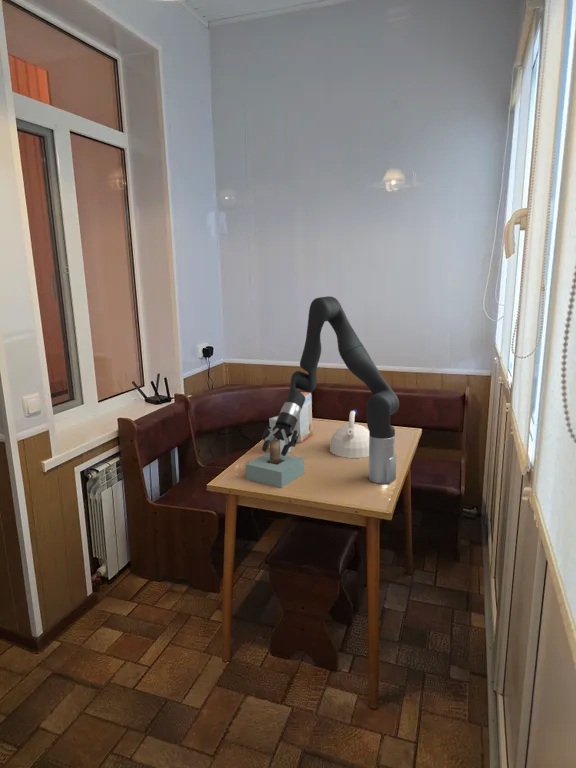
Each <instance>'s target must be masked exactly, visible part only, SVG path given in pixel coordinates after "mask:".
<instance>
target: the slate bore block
mask: <svg viewBox="0 0 576 768" xmlns="http://www.w3.org/2000/svg"><path fill="white" fill-rule="evenodd" d="M280 457H281V463H279V464H278V465H276V464H271V463H270V451H269V452H265V454H263V455H260V456H258V457H257V458H255V459H253V460H251V461H250V462H247V463H246V464H245V474H246V475H245V476H246V478H245V480H248V481H253V482H256V483H259V484H264V485H269V486H271V487H277V488H279V489H282V488H284V487H285V486H287V485H288V484H290V483H291V482H293V481H294V480H297V478H299V477H301V476H302V475H305V458H303V457H297V456H293V455H288V454H286V455H285V456H283V455H282V454H280Z"/></svg>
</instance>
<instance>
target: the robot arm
mask: <svg viewBox="0 0 576 768" xmlns="http://www.w3.org/2000/svg"><path fill="white" fill-rule="evenodd" d="M308 309H309V310H308V316H307V317H308V319H307V328H306V337H305V343H304V347H303V350H302V354H301V358H300V360H299V361H300V362H299V367H300V368H301V369H302V370H304V371H306V372H303V371H299V370H296V371H294V372H293V373H292V375H291V376H290V377H291V378H290V386H289V390H288V391H289V392H288V395H287V397H286V400H285V402H284V404H283V405H282V407H281V409H280V412H279V414H278V415H277V416H278V418H277V421H276V425H275V426H274V427H270V424H269V425H267V426H266V427H265V429H264V432H263V434H262V436H261V440H263V444H262V446H261V451H262V452H264V453H267V451H268V448H270V440H276V439H277V440H282V441H285V444H286V445H284V447H283V449H282V452H281V454H282V455H283V456H285V455H288V453H287V452H288V450H289V448H290V447H291V448H292V447H293V448H294V447H296V445H297V443H296V442H297V440H298V437H299V433H298V431H297V430H295V431H293V430H294V428H295V425H296V423H297V421H298V418H299V416H300V412H301V409H302V407H303V404H304V402H305V396H304V395H303V394H302V393H300V392H307V393H312V392H314V391H315V389H316V387H317V377H318V376H317V370H318V365H319V362H320V358H321V354H322V343H321V342H322V340H321V333H322V330H323V329H322V328H323V326H324V325H325V322H328V323H329V325H330V326H331V327H332V330H333V331H334V333H335V336H336V339H337V341H336V342H337V349H338V353H339V355H340V358H341V359H342V361H343V363H344V365H345V366H346V368H347V369H348V370H349V371H350V372H351V373H352V374H353V375H354V376H355V377H357V378H358V379H359V380H360V381H362V382H363V384H364V385H365V386H366V387H367V389H369V391H370V392H371V396H370V397H369V398H368V399H367V403H366V425H367V429H368V430H369V456H368V480H369V481H370V482H373V483H375V484H381V485H382V484H383V485H384V484H387V485H388V484H389V485H390V484H392V483H393V482H394V481H395V480H396V479H397V477H396V475H397V454H395V443H396V441H395V440H396V439H395V438H396V437H395V436H396V429H395V427H394V426H392V425H391V416H392V415H394V414H396V413H397V412H398V410H399V409H400V399H399V398H398V396H397V394H396V392H395V391H394V390H393V389H392V388H391V386H390V385H389V384H388V382H387V380H386V379H385V378H384V377H383V376H382V374H381V373H380V371H379V369H378V367H377V365H376V364H375V362H374V361H373V359H372V358H371V357H370V354H369V352H368V351H367V349H366V348H365V345H364V344H363V342H361V340H360V338H359V337H358V335H357V333H356V331H355V330H354V329H353V327H352V325H351V323H350V321H349V319H348V318H347V315H346V313H345V311H344V309H343V307H342V304H341V303H340V302H339V300H338V299H337V298H336V297H334V296H320V297H316V298H314V299H313V300H312V301H311V303H310V306H309V308H308ZM272 431H273V432H272ZM273 435H274V437H272V436H273ZM291 435H292V438H291V441H290V440H289V437H290V436H291Z"/></svg>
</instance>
